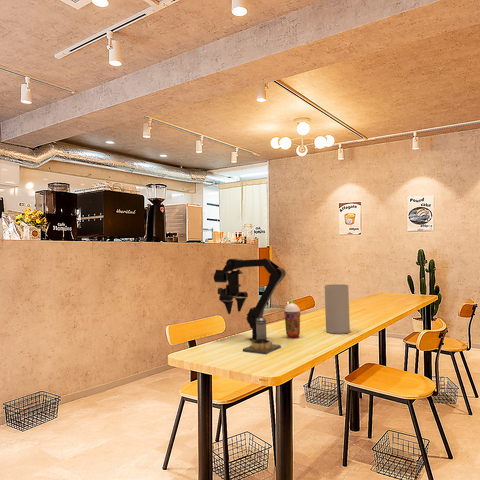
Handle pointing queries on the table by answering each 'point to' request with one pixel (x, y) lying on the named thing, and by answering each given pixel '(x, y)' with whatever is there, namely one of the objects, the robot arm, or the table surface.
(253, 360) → the table surface
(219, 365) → the table surface
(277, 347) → the ring collar
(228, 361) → the table surface
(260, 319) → the piston
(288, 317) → the smoothie
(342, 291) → the cylinder vase
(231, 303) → the robot arm
